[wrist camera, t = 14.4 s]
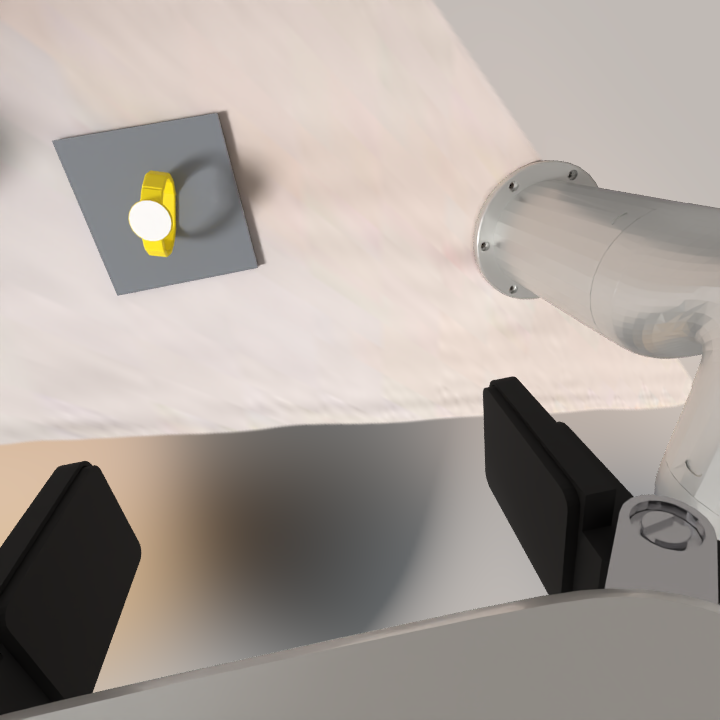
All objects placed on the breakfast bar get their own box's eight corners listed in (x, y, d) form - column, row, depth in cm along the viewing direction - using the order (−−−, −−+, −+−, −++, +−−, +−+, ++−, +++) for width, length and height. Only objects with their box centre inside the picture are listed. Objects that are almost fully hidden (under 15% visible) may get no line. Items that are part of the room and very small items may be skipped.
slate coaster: (217, 113, 35) (216, 112, 34) (258, 265, 41) (257, 267, 40) (55, 140, 34) (51, 140, 33) (119, 293, 40) (117, 295, 39)
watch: (147, 168, 36) (126, 168, 30) (185, 174, 36) (171, 174, 31) (149, 247, 38) (129, 260, 32) (185, 251, 38) (171, 264, 33)
